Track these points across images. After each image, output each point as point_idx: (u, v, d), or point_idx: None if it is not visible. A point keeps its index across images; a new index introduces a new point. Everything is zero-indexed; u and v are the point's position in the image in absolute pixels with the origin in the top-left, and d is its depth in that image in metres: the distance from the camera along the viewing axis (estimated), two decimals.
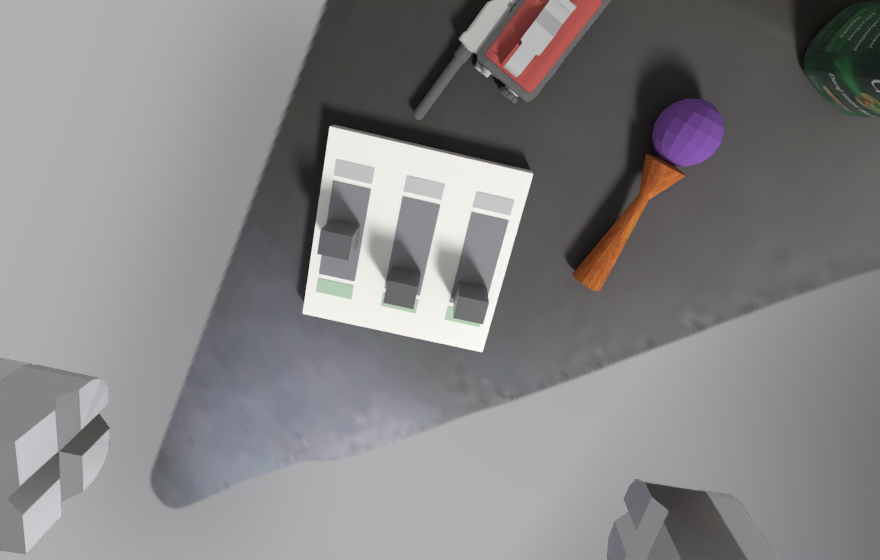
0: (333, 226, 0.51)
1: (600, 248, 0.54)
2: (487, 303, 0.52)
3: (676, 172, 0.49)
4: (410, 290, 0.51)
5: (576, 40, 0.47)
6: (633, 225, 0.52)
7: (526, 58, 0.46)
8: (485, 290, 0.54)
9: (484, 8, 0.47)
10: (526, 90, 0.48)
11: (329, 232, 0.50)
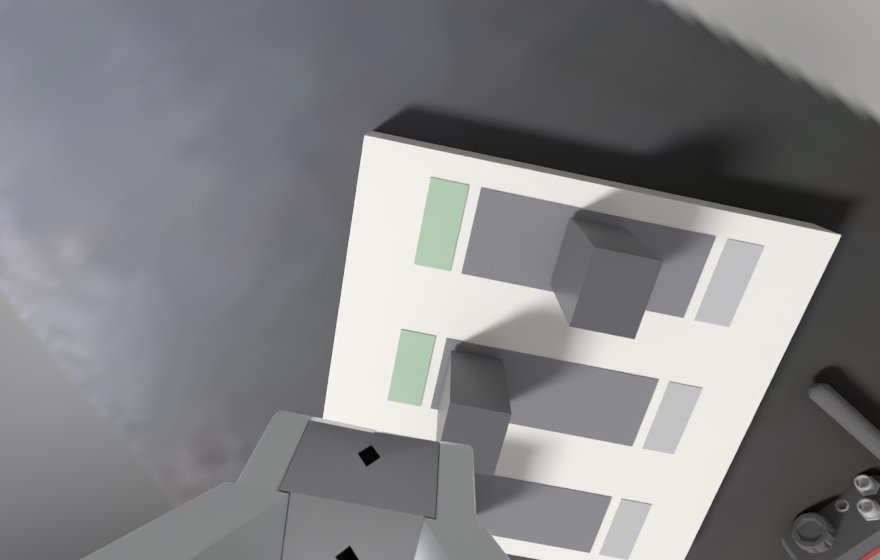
0: None
1: None
2: None
3: None
4: (484, 461, 0.21)
5: None
6: None
7: None
8: None
9: None
10: None
11: (653, 283, 0.18)
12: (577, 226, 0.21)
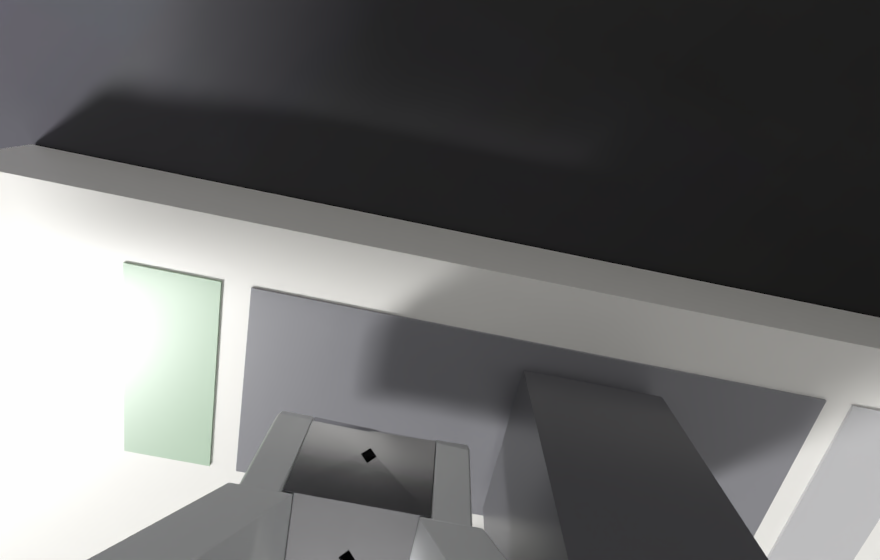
0: None
1: None
2: None
3: None
4: None
5: None
6: None
7: None
8: None
9: None
10: None
11: None
12: (536, 421, 0.08)
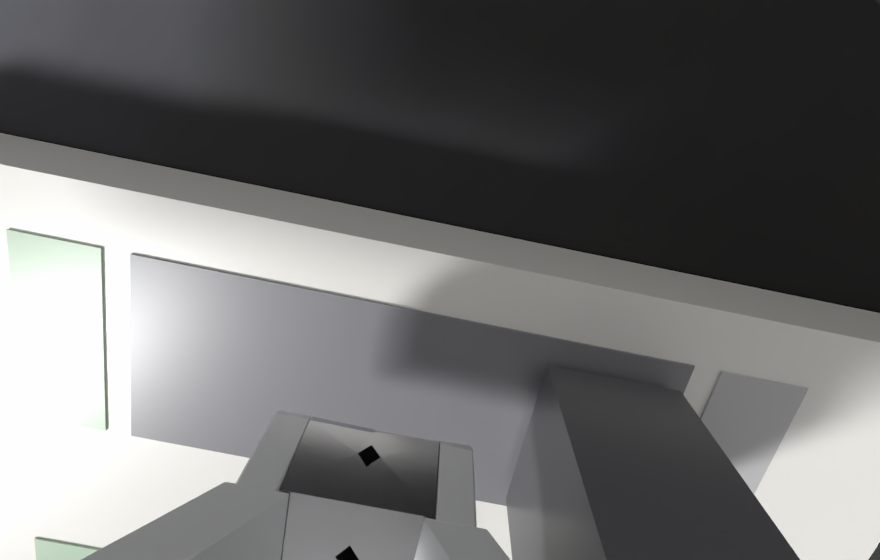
0: None
1: None
2: None
3: None
4: None
5: None
6: None
7: None
8: None
9: None
10: None
11: None
12: (562, 412, 0.08)
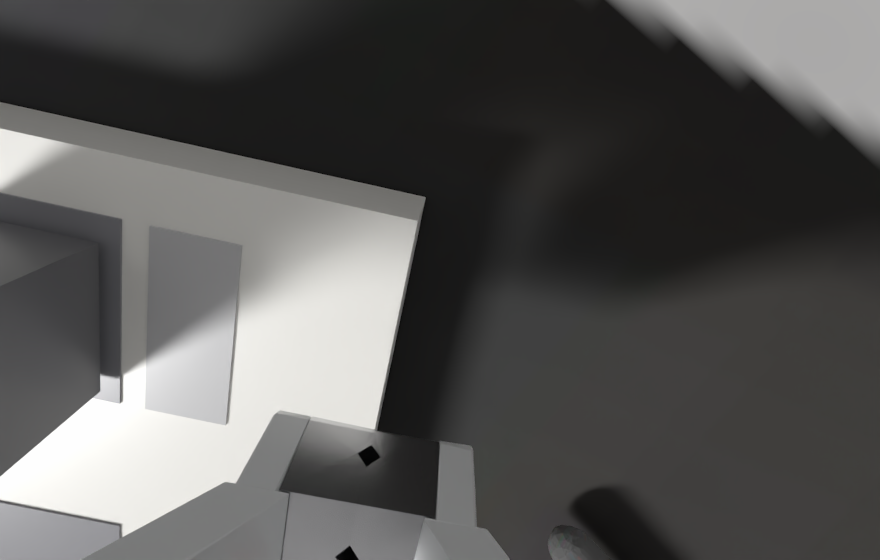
0: None
1: None
2: None
3: None
4: None
5: None
6: None
7: None
8: None
9: None
10: None
11: None
12: None
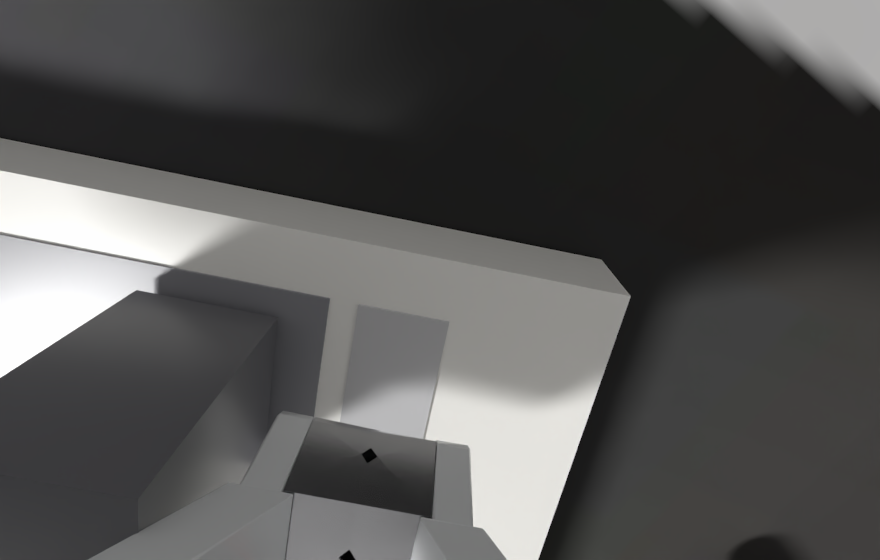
0: (217, 442, 0.07)
1: None
2: None
3: None
4: None
5: None
6: None
7: None
8: None
9: None
10: None
11: None
12: (82, 326, 0.08)
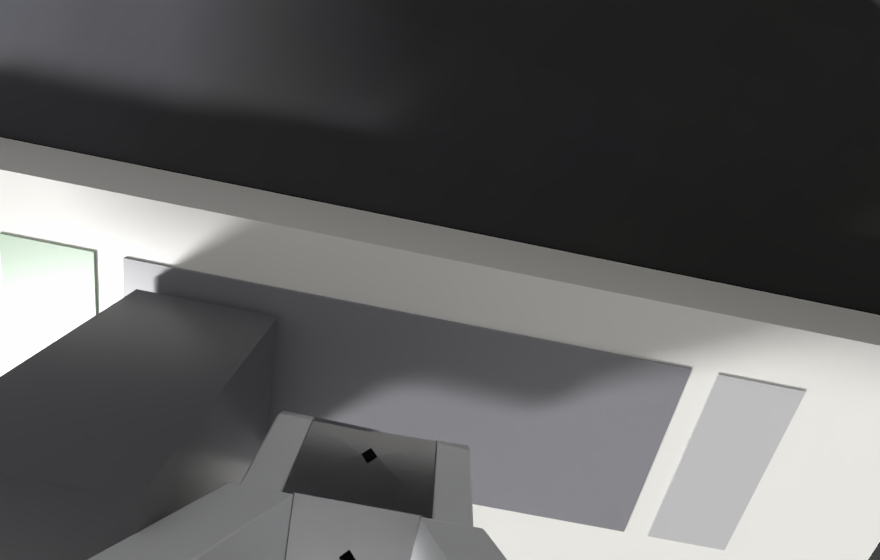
0: (217, 441, 0.07)
1: None
2: None
3: None
4: None
5: None
6: None
7: None
8: None
9: None
10: None
11: None
12: (82, 325, 0.08)
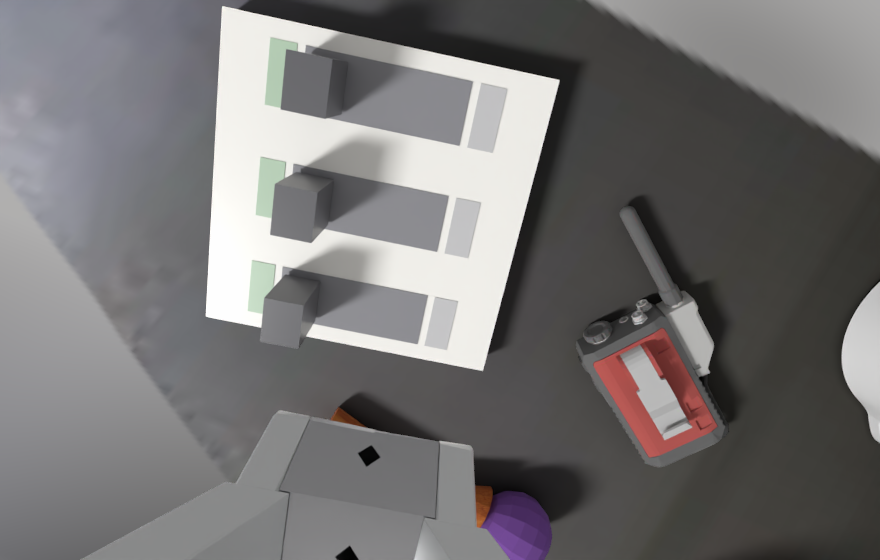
0: (338, 75, 0.29)
1: None
2: (296, 346, 0.33)
3: None
4: (303, 231, 0.31)
5: (624, 424, 0.39)
6: None
7: (641, 379, 0.36)
8: (311, 325, 0.36)
9: (709, 339, 0.37)
10: (598, 361, 0.37)
11: (329, 75, 0.28)
12: None
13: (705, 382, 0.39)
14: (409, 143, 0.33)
